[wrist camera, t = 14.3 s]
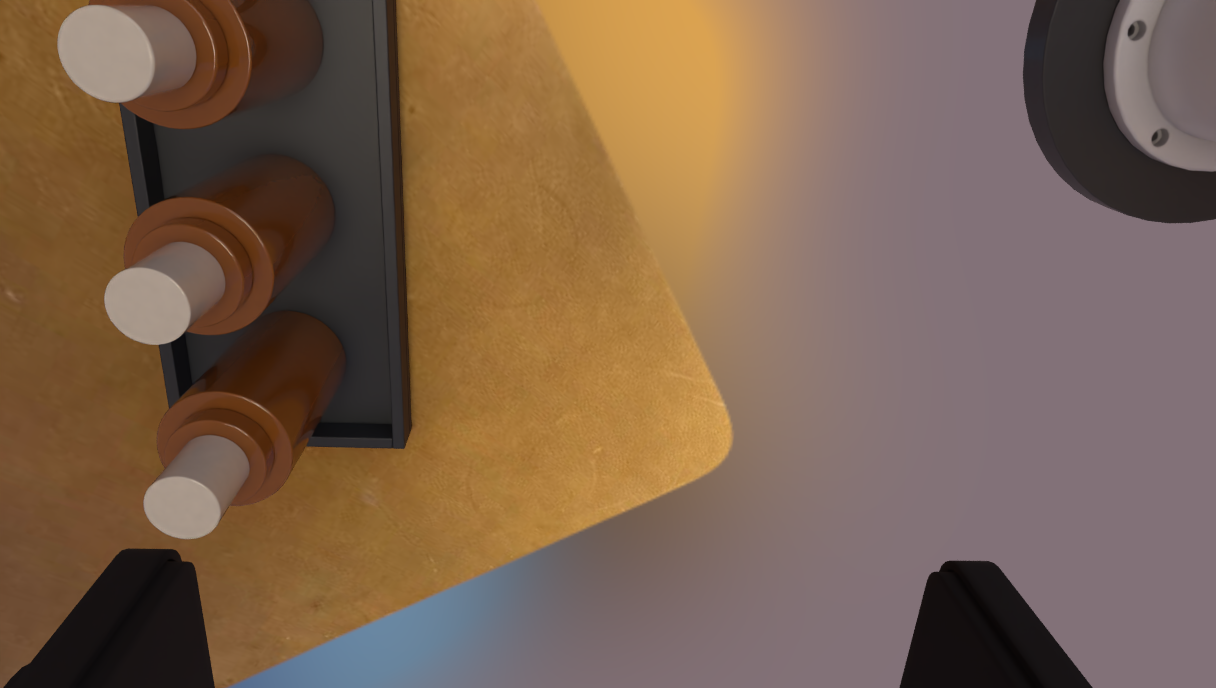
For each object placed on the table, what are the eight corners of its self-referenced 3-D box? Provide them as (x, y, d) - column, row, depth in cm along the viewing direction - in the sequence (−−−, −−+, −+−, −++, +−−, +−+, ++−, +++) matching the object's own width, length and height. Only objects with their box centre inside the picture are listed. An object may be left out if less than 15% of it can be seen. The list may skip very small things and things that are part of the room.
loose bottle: (343, 312, 40) (250, 445, 28) (349, 407, 42) (265, 570, 30) (233, 308, 39) (90, 441, 27) (245, 404, 41) (116, 568, 29)
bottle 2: (331, 156, 37) (222, 230, 25) (339, 266, 39) (241, 384, 27) (213, 150, 36) (43, 222, 24) (226, 262, 38) (76, 379, 26)
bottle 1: (319, -26, 34) (188, -42, 22) (328, 103, 36) (212, 154, 24) (190, -35, 34) (-15, -55, 22) (206, 96, 36) (27, 144, 24)
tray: (393, -60, 34) (383, -64, 32) (411, 429, 43) (404, 449, 41) (115, -79, 33) (87, -84, 31) (191, 423, 42) (174, 443, 40)
